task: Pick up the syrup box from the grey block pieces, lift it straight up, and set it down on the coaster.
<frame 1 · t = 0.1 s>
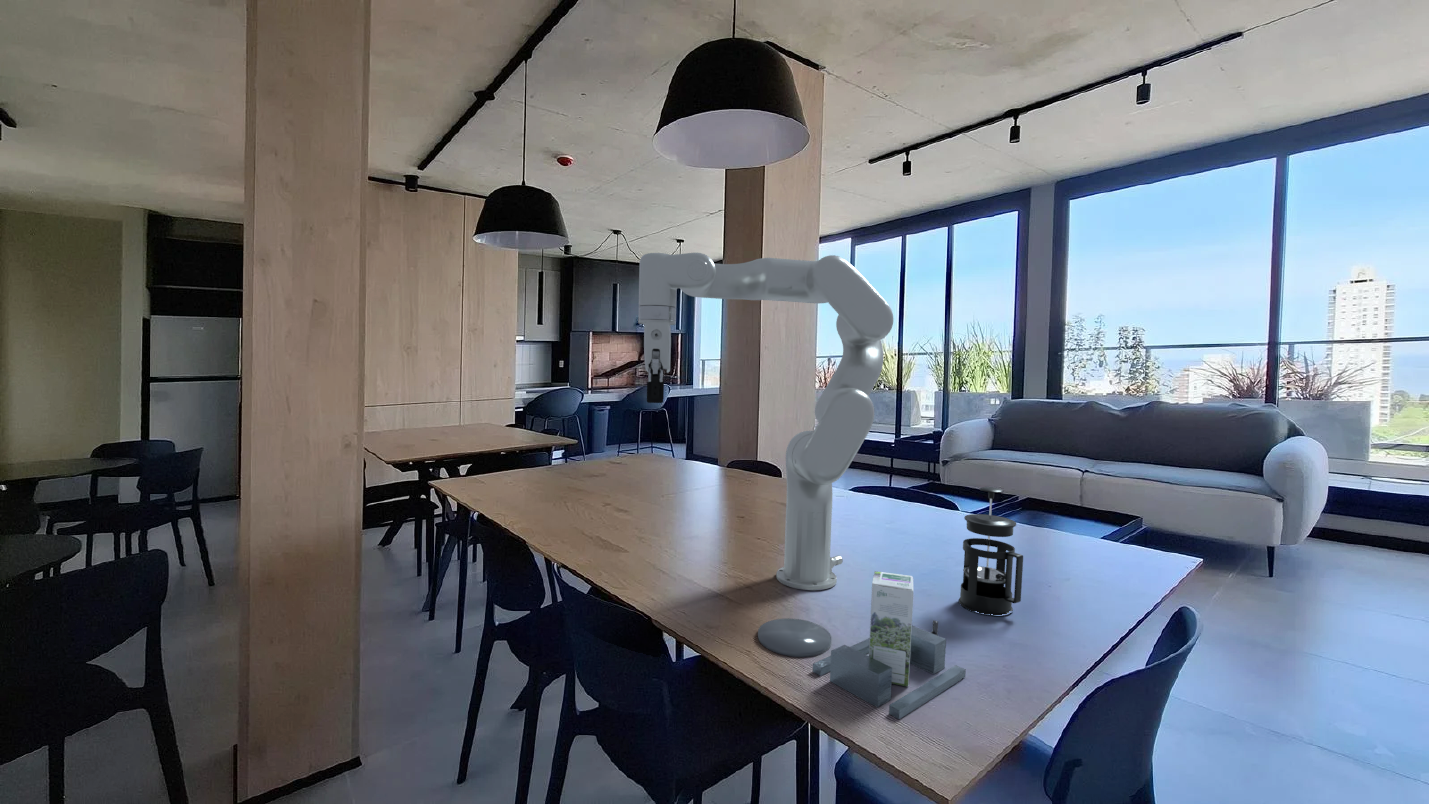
hand: (655, 401, 117), 37 cm above the table, tool pointing down, fingers open, 9 cm apart
syrup box: (888, 676, 85), resting in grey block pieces
coaster: (794, 638, 95), on the table
french press: (987, 608, 110), on the table
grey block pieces: (888, 674, 85), on the table
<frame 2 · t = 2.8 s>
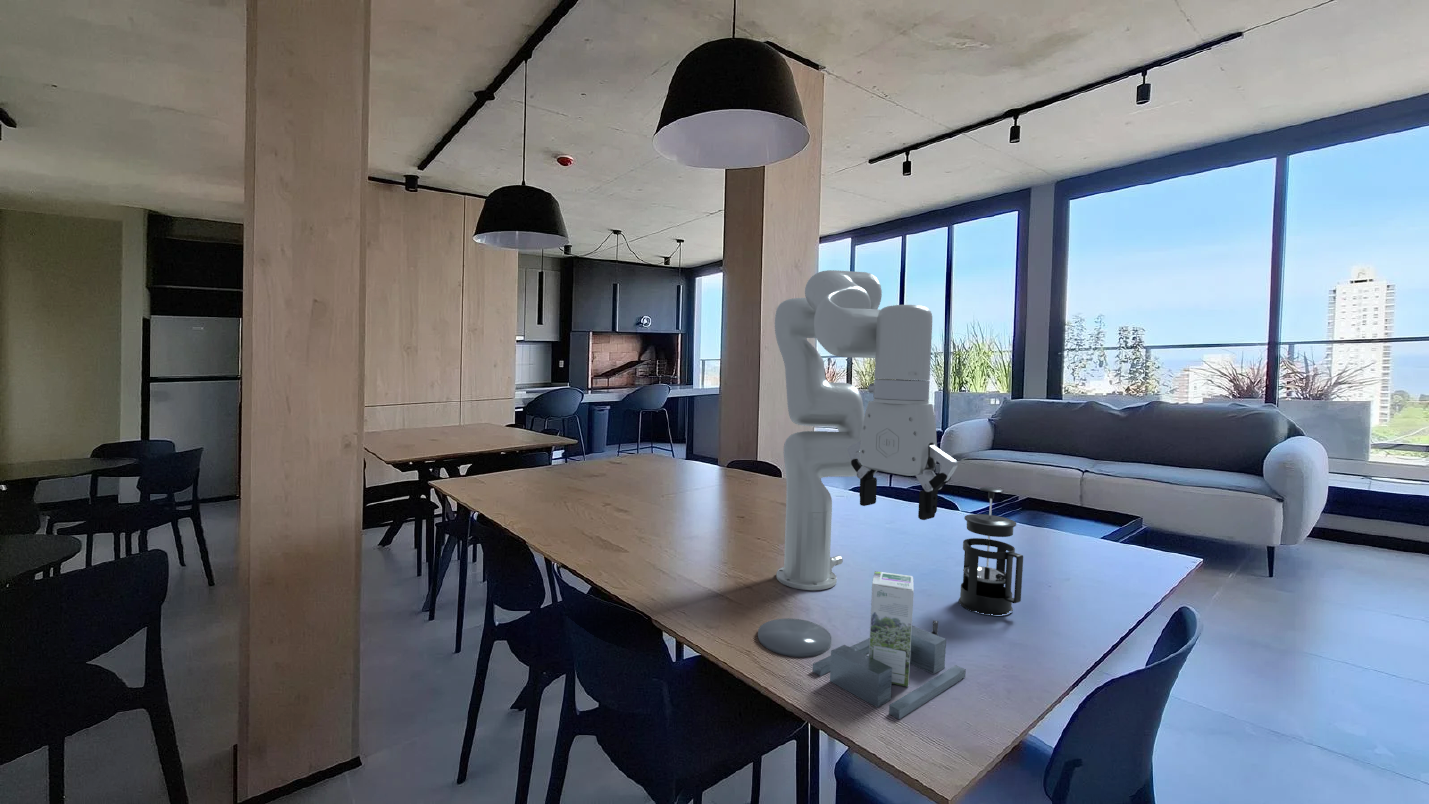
hand: (895, 511, 83), 24 cm above the table, tool pointing down, fingers open, 9 cm apart
nothing on the table moved.
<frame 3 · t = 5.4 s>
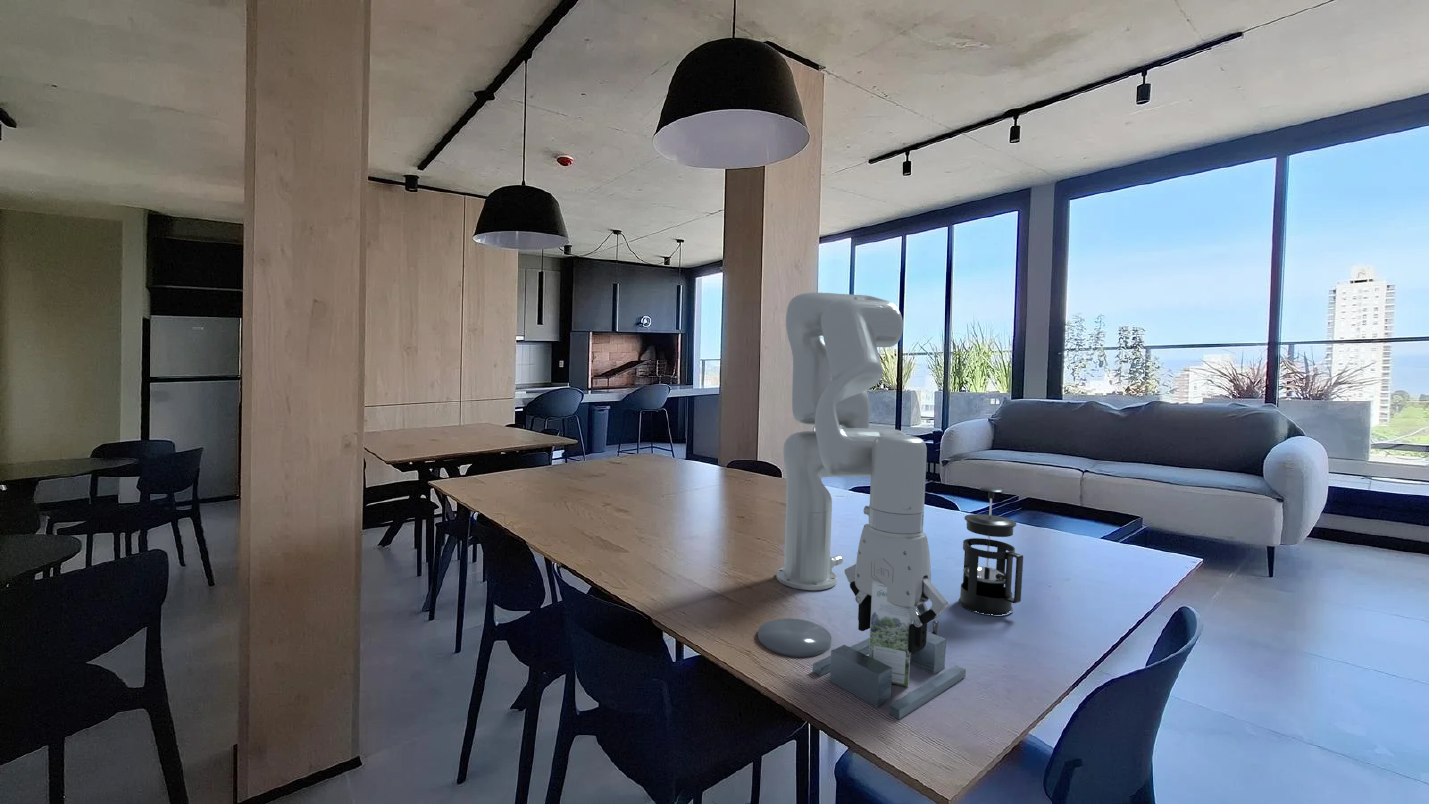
hand: (890, 638, 84), 5 cm above the table, tool pointing down, fingers closed on syrup box, 7 cm apart
syrup box: (888, 675, 85), resting in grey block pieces, touching gripper
everything else where it was.
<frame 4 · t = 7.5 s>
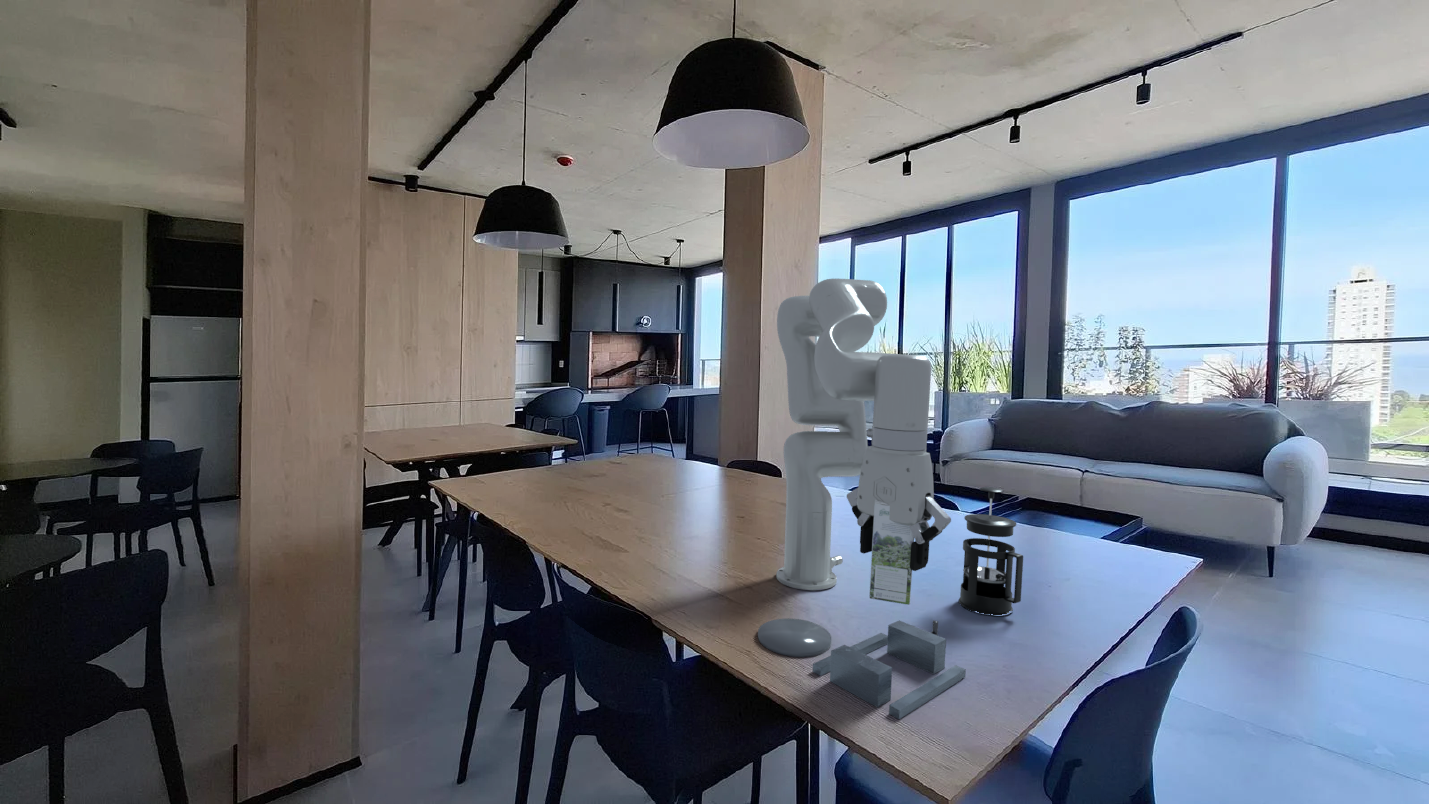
hand: (892, 559, 84), 17 cm above the table, tool pointing down, fingers closed on syrup box, 7 cm apart
syrup box: (889, 596, 85), point 11 cm above the table, touching gripper
everything else where it was.
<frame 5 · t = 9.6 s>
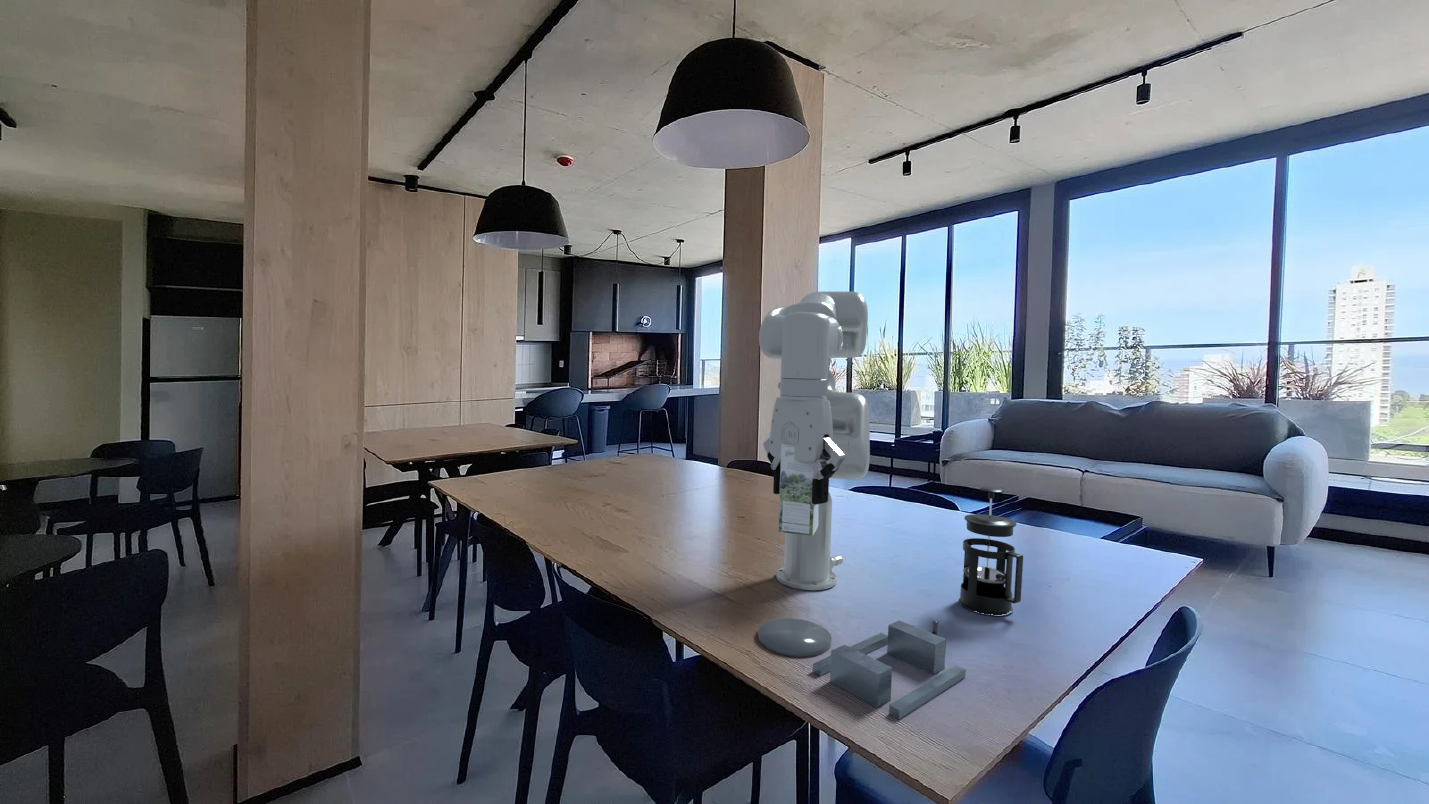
hand: (799, 497, 94), 24 cm above the table, tool pointing down, fingers closed on syrup box, 7 cm apart
syrup box: (798, 531, 94), point 18 cm above the table, touching gripper
everything else where it was.
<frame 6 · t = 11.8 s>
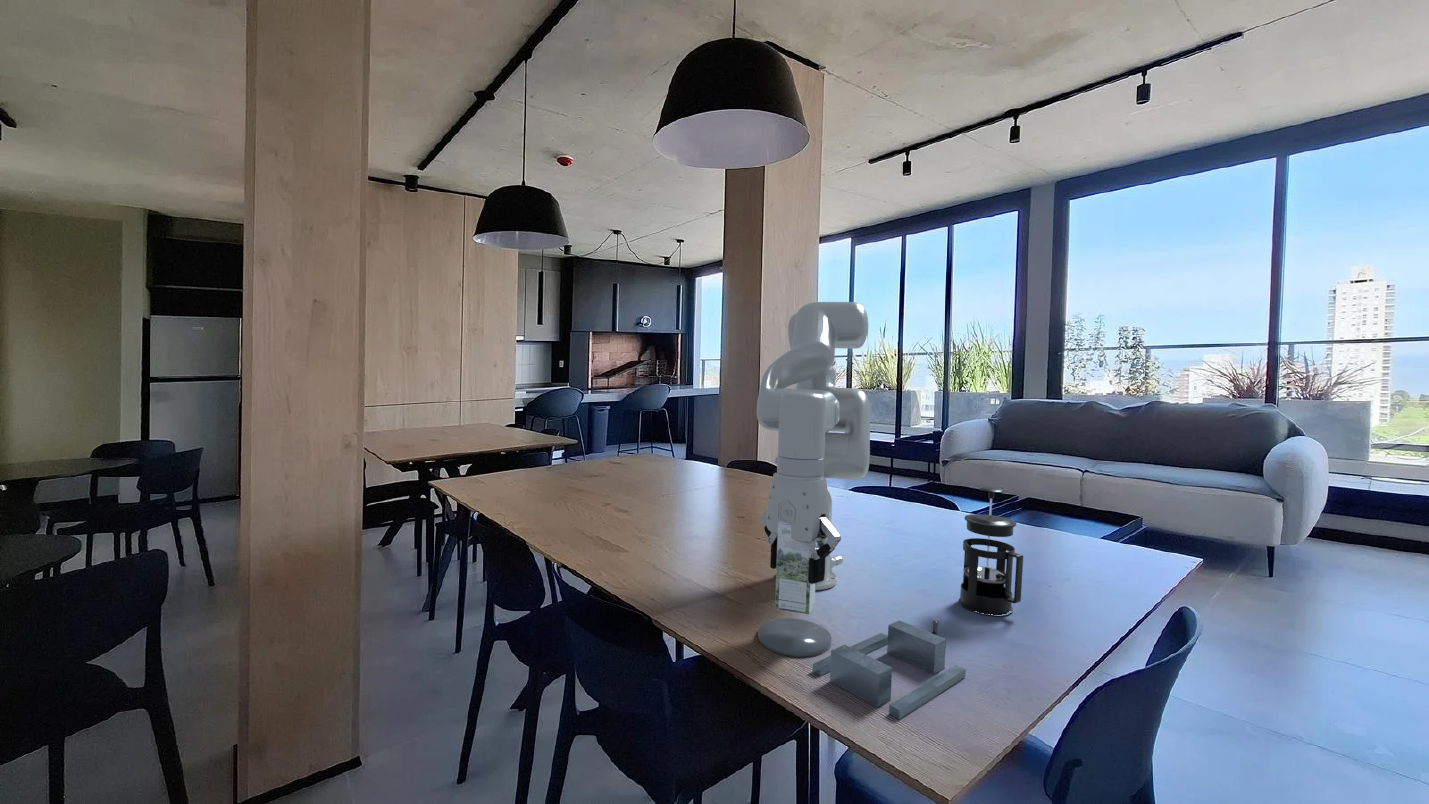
hand: (796, 573, 94), 11 cm above the table, tool pointing down, fingers closed on syrup box, 7 cm apart
syrup box: (795, 607, 95), point 5 cm above the table, touching gripper
everything else where it was.
when the fingers open (7 cm above the table, at t = 13.7 s): syrup box drops 1 cm, resting on coaster.
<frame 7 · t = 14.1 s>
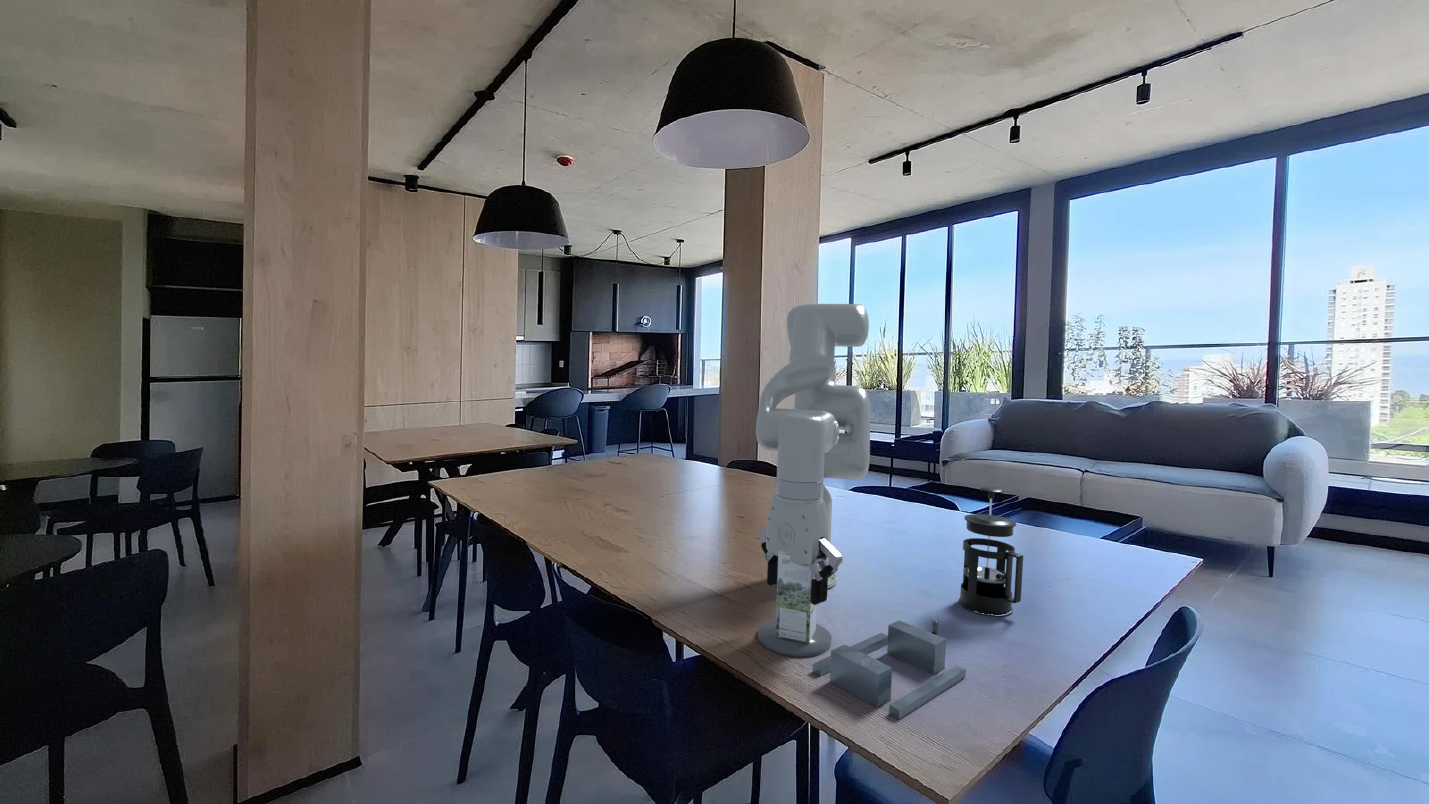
hand: (795, 592, 95), 8 cm above the table, tool pointing down, fingers open, 9 cm apart
syrup box: (795, 635, 95), point 1 cm above the table, touching coaster
everything else where it was.
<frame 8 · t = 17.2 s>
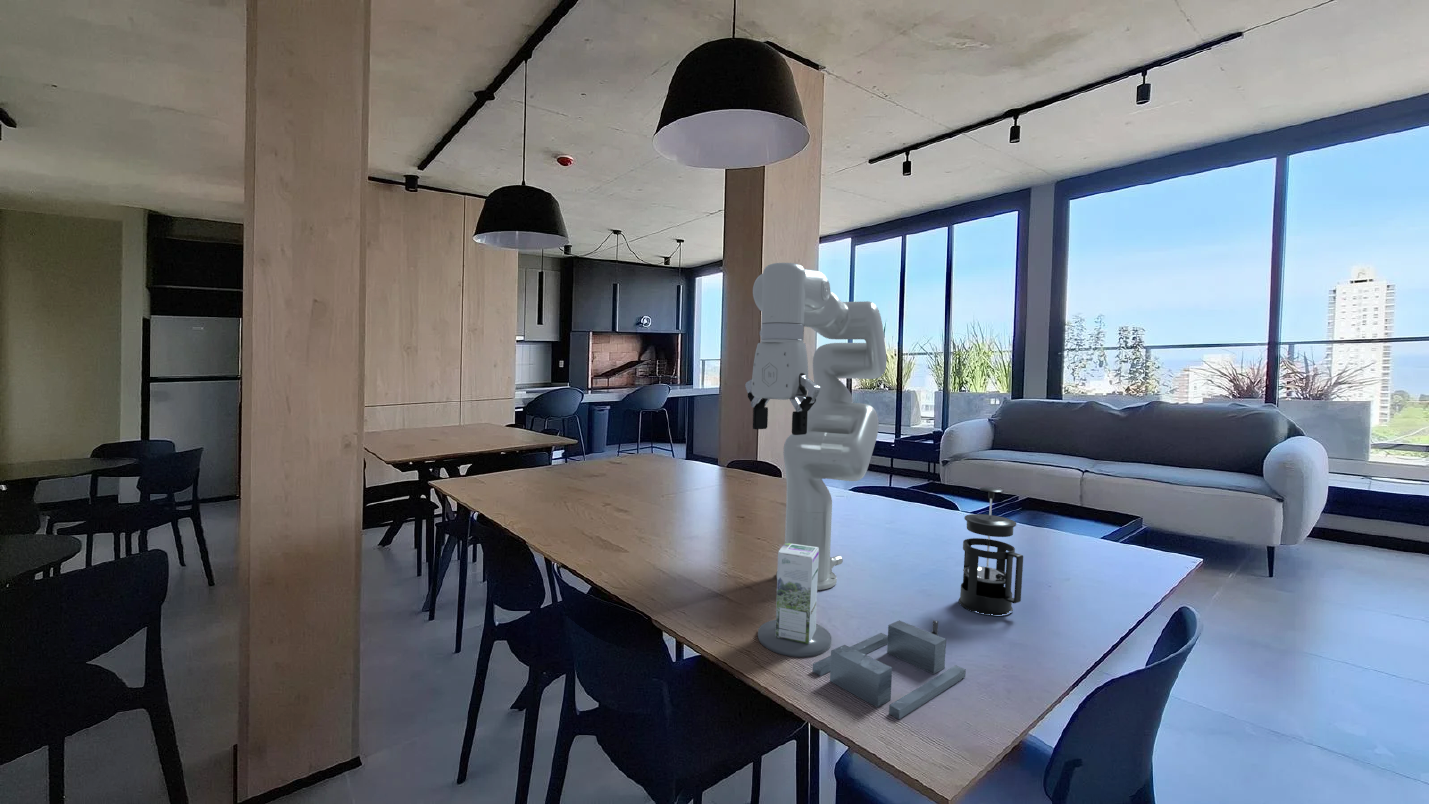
hand: (778, 431, 103), 33 cm above the table, tool pointing down, fingers open, 9 cm apart
nothing on the table moved.
at the end: syrup box inside the target area on the coaster (0.3 cm from its centre), point 0.6 cm above the coaster's base; syrup box tilted 0°; the gripper is holding nothing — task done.
